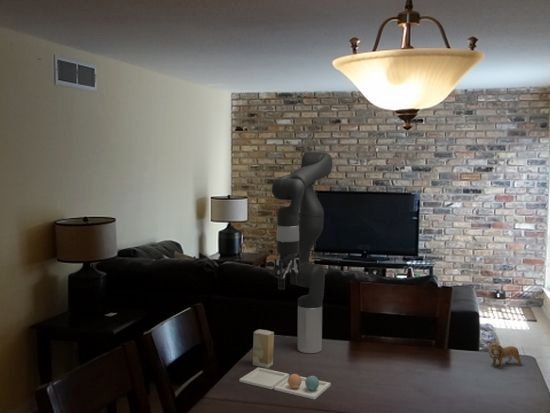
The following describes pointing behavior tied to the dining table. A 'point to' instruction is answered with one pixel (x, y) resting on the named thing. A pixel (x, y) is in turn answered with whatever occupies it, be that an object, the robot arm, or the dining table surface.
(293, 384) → the ball terracotta
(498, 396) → the dining table surface
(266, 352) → the skincare box
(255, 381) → the tray
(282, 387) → the tray
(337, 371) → the dining table surface
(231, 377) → the dining table surface
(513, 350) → the lion figurine
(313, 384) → the ball teal
